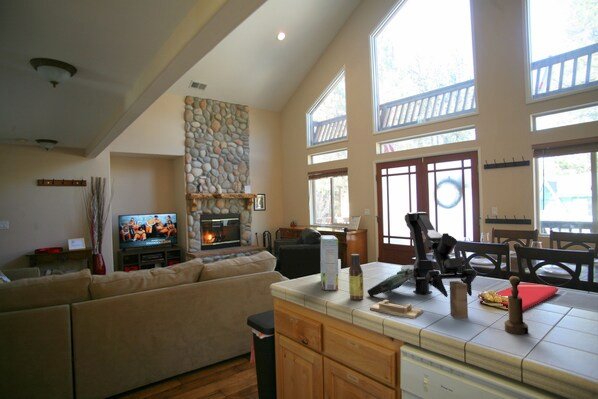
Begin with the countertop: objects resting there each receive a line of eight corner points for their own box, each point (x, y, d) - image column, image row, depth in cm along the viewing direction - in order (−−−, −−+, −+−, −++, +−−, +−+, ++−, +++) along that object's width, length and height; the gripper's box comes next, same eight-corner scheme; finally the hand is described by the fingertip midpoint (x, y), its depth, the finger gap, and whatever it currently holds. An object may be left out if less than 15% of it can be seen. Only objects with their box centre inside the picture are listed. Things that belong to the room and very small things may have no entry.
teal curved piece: (381, 279, 168) (415, 263, 157) (388, 291, 166) (423, 275, 156) (364, 288, 152) (400, 271, 142) (371, 301, 150) (408, 285, 140)
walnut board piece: (450, 314, 126) (449, 281, 126) (460, 313, 126) (459, 281, 127) (457, 318, 121) (456, 284, 121) (467, 318, 122) (466, 284, 122)
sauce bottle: (363, 300, 146) (362, 255, 146) (349, 300, 147) (348, 255, 147) (363, 296, 152) (362, 253, 153) (349, 296, 153) (348, 253, 154)
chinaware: (403, 285, 172) (402, 270, 172) (399, 278, 186) (399, 264, 186) (433, 285, 169) (433, 270, 169) (427, 278, 184) (426, 265, 184)
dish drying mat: (478, 304, 139) (478, 295, 139) (520, 288, 162) (520, 280, 162) (520, 314, 126) (520, 304, 126) (560, 295, 149) (559, 287, 149)
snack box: (340, 290, 164) (338, 238, 164) (322, 291, 164) (321, 239, 164) (335, 280, 185) (334, 234, 186) (320, 280, 186) (319, 234, 186)
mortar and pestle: (500, 327, 112) (498, 274, 112) (517, 326, 112) (516, 273, 113) (514, 335, 105) (512, 278, 106) (533, 334, 106) (531, 278, 106)
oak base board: (380, 303, 141) (379, 296, 141) (422, 311, 130) (422, 304, 130) (370, 309, 134) (369, 302, 134) (414, 318, 122) (414, 310, 122)
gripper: (427, 250, 129) (441, 285, 118) (473, 248, 130) (492, 283, 118) (419, 266, 137) (432, 301, 125) (463, 265, 137) (480, 299, 126)
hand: (459, 296), depth 124 cm, fingers open, 9 cm apart
